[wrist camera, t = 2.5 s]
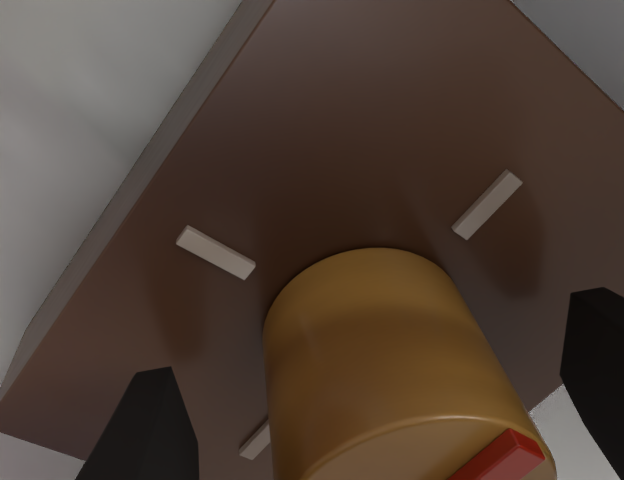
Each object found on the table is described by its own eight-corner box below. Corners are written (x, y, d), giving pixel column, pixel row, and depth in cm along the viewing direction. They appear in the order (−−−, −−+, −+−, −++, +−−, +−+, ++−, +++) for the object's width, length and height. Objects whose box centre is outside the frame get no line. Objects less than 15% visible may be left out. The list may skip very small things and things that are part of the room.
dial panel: (341, 460, 18) (361, 559, 16) (25, 329, 14) (-21, 434, 12) (653, 167, 14) (753, 235, 11) (331, -135, 10) (370, -140, 7)
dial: (373, 427, 13) (431, 637, 9) (221, 357, 12) (220, 579, 8) (502, 305, 12) (627, 497, 8) (349, 207, 10) (422, 391, 6)
